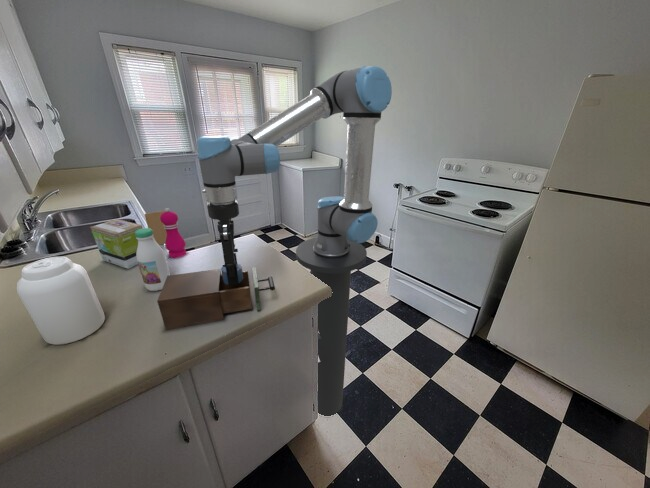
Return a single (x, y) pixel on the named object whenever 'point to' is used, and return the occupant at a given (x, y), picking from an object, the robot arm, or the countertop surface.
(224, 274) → the blue short cylinder
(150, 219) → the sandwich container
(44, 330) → the white plastic jar
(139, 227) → the tea box
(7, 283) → the countertop surface
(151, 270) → the milk bottle
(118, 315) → the countertop surface
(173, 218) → the pepper mill
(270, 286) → the drawer
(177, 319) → the cabinet
